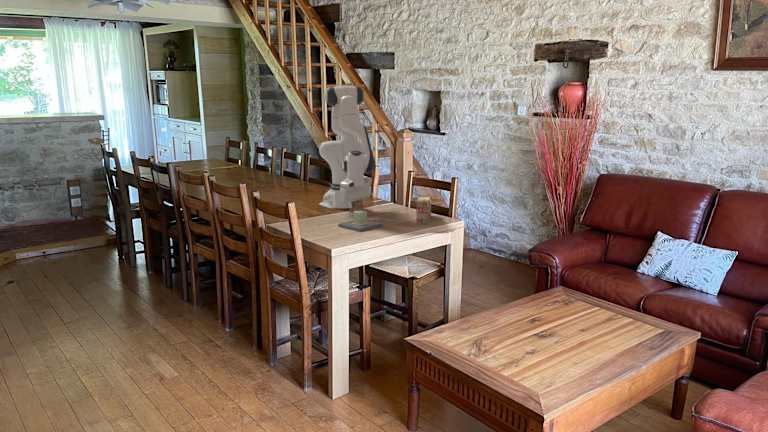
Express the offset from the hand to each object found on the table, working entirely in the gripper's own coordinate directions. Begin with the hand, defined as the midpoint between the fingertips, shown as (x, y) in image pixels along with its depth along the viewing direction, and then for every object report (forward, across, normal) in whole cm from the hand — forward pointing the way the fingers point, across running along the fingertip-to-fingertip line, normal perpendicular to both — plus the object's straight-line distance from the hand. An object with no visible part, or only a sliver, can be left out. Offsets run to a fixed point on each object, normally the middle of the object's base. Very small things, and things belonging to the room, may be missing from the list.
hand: (355, 207), depth 330 cm
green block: (+4, +10, +15) cm, 18 cm away
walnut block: (+3, 0, 0) cm, 3 cm away
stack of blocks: (+6, -24, +28) cm, 37 cm away
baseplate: (+6, +10, +15) cm, 19 cm away
